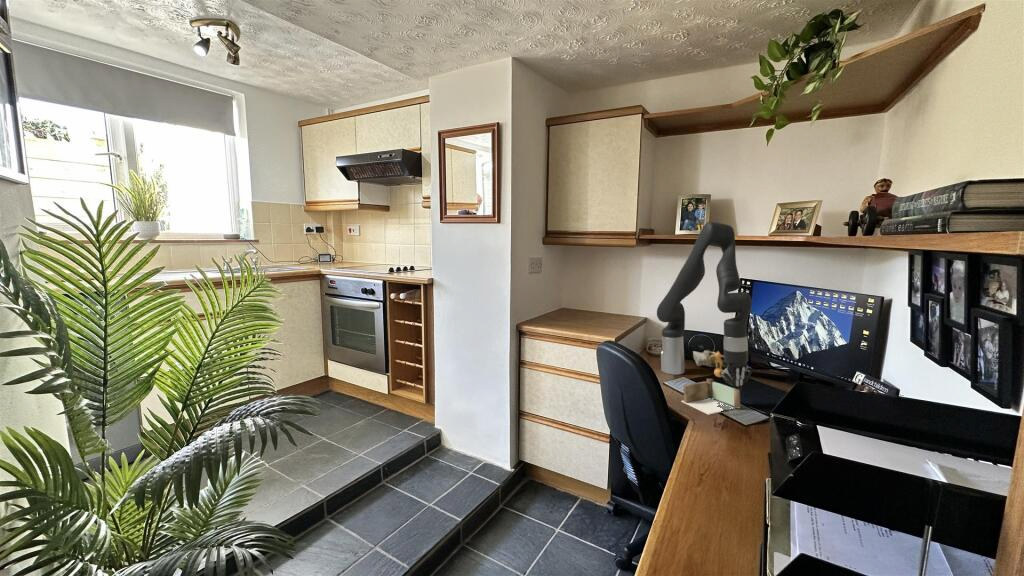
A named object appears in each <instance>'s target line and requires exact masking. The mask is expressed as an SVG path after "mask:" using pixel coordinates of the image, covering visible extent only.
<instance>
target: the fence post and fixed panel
mask: <svg viewBox="0 0 1024 576" xmlns="http://www.w3.org/2000/svg"><path fill="white" fill-rule="evenodd" d="M712 382H715V381H714V379H713V378H706V381H700V382H694V383H689V384H684V385H683V400H684V402H686V403H688V402H693V401H698V400H703V399H708V398H711V399H712V398H713V389H712Z"/></svg>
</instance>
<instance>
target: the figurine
mask: <svg viewBox="0 0 1024 576" xmlns="http://www.w3.org/2000/svg"><path fill="white" fill-rule="evenodd" d="M714 356H715V357H716V359H717V360H716V359H715V363H716V367H715V368H714V371H713V373H714V375H715V377H717V378H723V377H722V376H721V375H720V371H722V372H723V371H724V369H723V368H721V366H722V360H723V359H722V358H724V354H723V355H722V354H721V352H720V351H719V350H718V351H716V354H715V355H712V356H710V358H711V357H714ZM710 358H709V359H710ZM709 359H708V361H709ZM720 359H722V360H720ZM718 362H719V363H720V368H718V367H717V366H718V365H717V363H718Z"/></svg>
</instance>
